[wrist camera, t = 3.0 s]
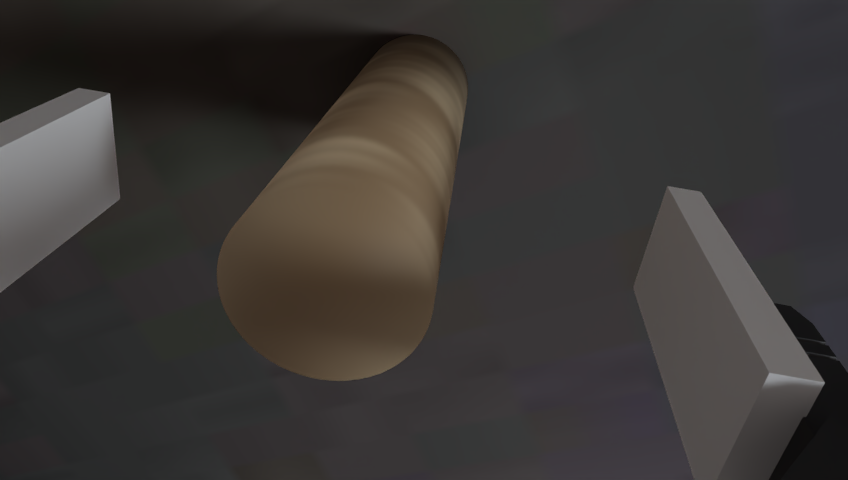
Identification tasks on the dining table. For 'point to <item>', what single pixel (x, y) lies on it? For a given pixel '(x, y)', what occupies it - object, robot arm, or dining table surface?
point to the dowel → (353, 222)
